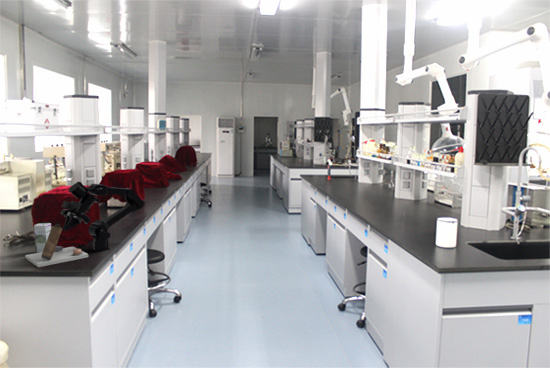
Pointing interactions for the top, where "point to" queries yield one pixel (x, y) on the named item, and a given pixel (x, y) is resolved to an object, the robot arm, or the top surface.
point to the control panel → (55, 257)
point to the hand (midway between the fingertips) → (63, 230)
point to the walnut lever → (51, 242)
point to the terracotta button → (76, 251)
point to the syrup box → (41, 235)
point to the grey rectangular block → (58, 248)
